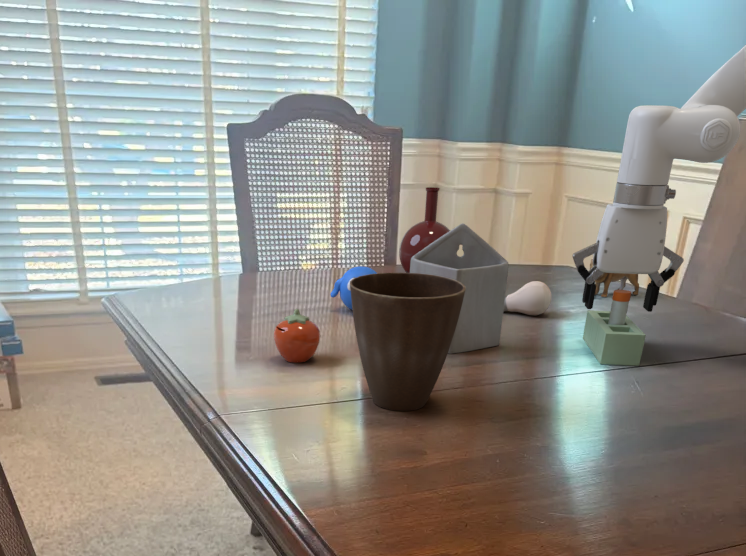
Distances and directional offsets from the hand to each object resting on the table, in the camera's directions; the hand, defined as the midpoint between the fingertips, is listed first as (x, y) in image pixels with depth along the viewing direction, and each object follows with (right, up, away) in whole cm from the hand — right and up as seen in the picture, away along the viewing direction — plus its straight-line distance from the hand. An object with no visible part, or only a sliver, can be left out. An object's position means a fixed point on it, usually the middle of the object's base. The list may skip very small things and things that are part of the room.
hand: (617, 308), depth 128 cm
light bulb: (-10, +7, +26) cm, 29 cm away
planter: (-27, -6, +4) cm, 28 cm away
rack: (0, -6, +4) cm, 7 cm away
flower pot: (-38, -20, -21) cm, 47 cm away
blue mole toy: (-42, +6, +24) cm, 49 cm away
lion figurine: (+14, +16, +43) cm, 48 cm away
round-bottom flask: (-26, +22, +52) cm, 62 cm away
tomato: (-53, -10, -4) cm, 54 cm away
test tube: (0, -6, +4) cm, 7 cm away
